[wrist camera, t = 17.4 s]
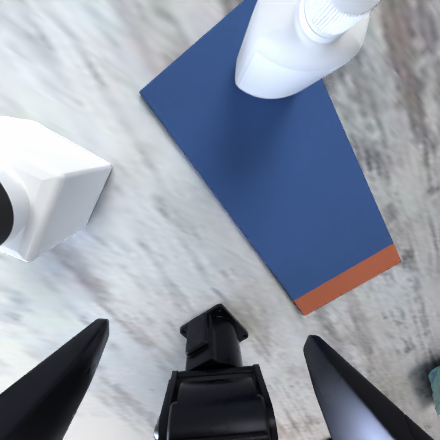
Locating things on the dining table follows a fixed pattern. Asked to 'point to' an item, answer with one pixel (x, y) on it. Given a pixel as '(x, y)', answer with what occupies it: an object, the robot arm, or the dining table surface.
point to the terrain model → (435, 387)
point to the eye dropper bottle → (298, 43)
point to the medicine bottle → (44, 187)
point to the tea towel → (275, 168)
